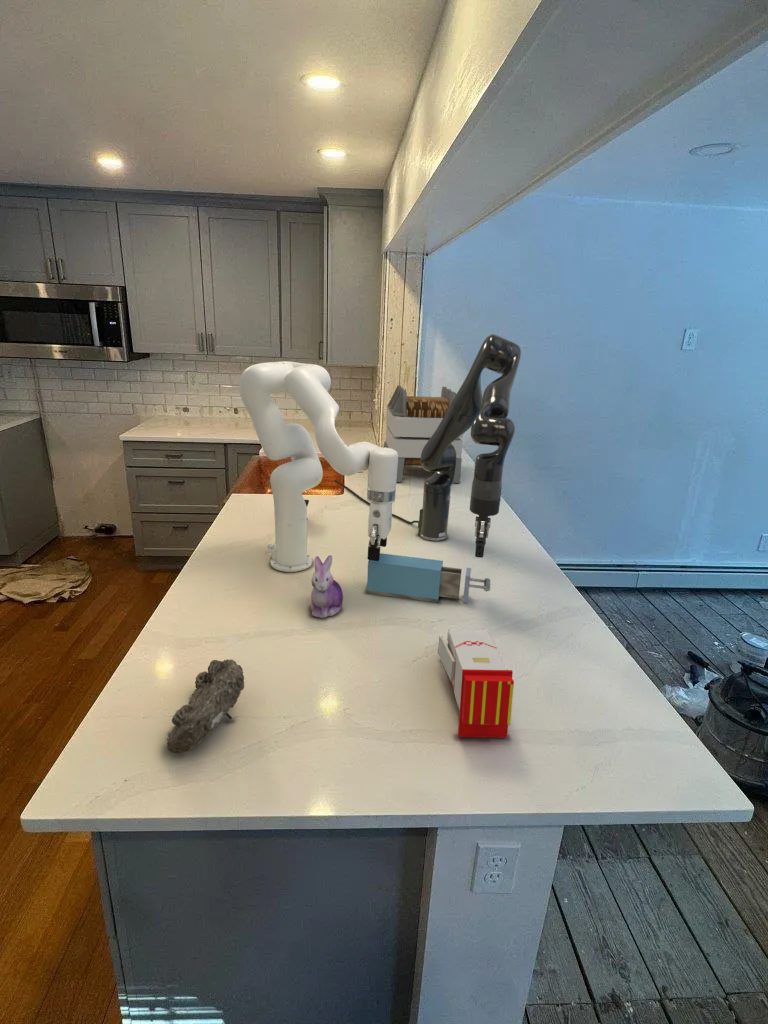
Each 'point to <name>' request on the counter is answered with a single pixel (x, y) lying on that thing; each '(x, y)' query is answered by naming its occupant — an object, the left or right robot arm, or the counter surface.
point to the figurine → (325, 590)
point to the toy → (478, 682)
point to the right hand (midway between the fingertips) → (479, 556)
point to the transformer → (417, 427)
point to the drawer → (458, 583)
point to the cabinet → (405, 577)
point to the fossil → (206, 705)
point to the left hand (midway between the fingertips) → (377, 552)
